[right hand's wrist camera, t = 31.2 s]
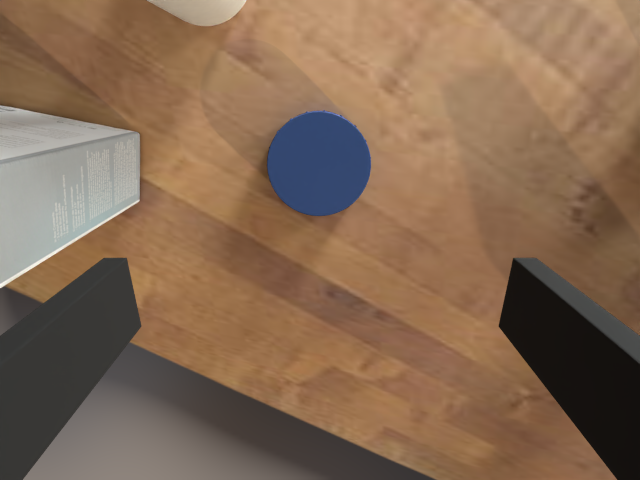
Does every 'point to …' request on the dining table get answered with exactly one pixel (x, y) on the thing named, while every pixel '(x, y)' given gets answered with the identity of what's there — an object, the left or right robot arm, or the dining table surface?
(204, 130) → the dining table surface
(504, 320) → the right robot arm
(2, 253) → the hard drive box
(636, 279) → the dining table surface
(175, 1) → the jar
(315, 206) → the lid
